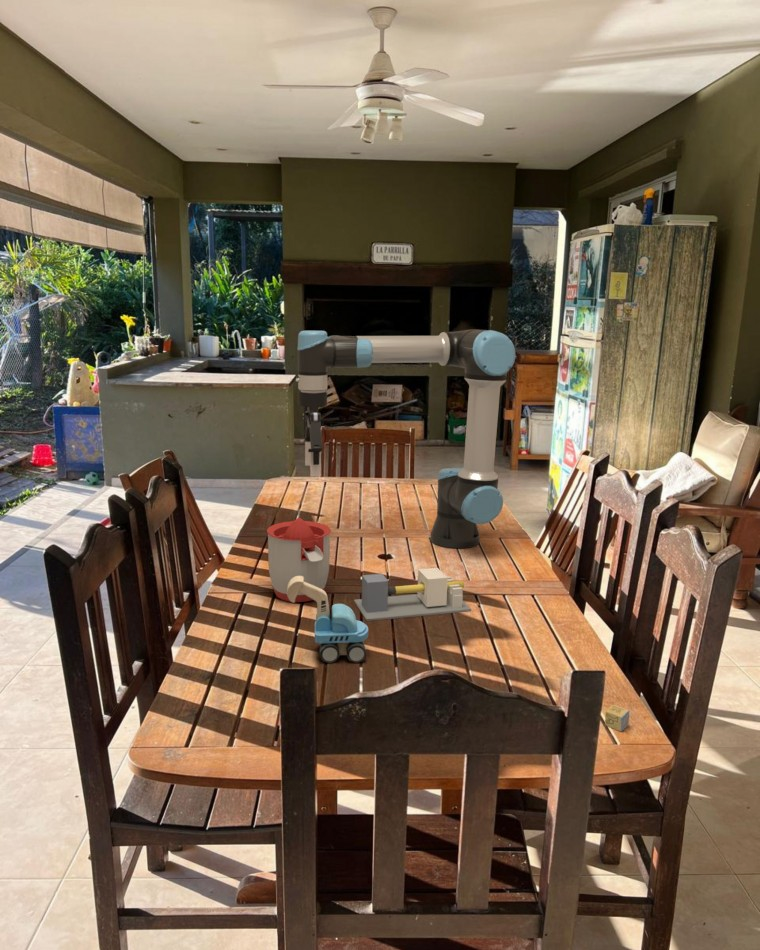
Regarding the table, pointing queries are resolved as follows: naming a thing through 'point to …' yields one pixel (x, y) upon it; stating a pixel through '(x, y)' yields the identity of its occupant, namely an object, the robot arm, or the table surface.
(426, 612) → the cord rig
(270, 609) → the table surface
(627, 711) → the alphabet block
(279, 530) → the citrus juicer
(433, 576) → the sleeve
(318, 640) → the toy excavator
